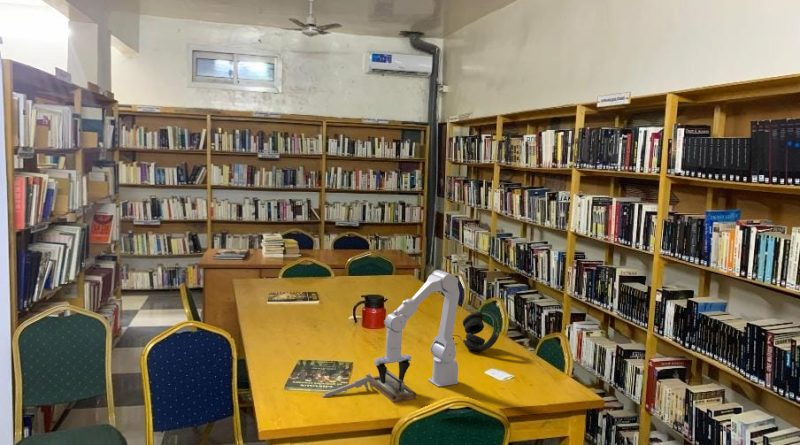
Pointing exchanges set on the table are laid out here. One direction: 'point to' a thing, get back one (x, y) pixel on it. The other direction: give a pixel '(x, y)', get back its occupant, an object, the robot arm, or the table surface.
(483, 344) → the headset
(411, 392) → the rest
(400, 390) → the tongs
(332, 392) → the caliper
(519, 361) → the table surface
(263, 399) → the table surface
